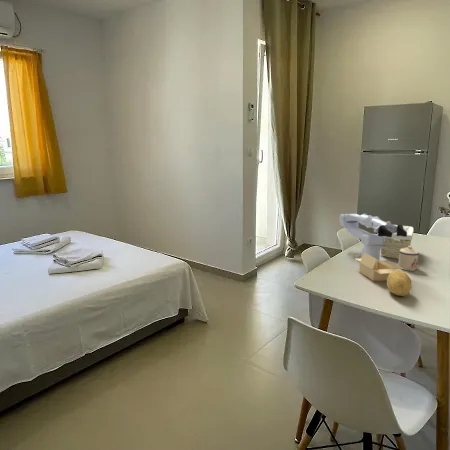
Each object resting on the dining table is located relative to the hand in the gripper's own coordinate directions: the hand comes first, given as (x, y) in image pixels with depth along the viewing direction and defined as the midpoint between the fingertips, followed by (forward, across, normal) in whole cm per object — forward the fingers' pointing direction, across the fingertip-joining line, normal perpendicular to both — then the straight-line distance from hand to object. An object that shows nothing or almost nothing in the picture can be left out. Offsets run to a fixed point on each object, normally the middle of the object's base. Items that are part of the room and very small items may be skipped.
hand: (398, 234), depth 171 cm
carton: (-1, -6, +21) cm, 22 cm away
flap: (-1, -13, +13) cm, 18 cm away
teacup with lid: (-10, +15, +21) cm, 28 cm away
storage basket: (-34, +24, +22) cm, 47 cm away
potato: (+20, -11, +20) cm, 31 cm away
